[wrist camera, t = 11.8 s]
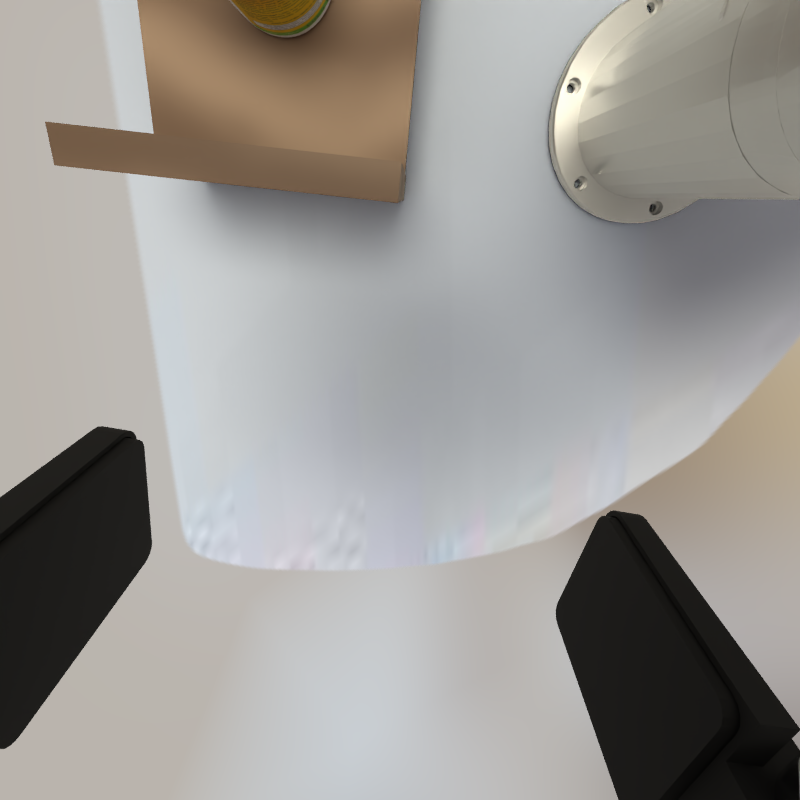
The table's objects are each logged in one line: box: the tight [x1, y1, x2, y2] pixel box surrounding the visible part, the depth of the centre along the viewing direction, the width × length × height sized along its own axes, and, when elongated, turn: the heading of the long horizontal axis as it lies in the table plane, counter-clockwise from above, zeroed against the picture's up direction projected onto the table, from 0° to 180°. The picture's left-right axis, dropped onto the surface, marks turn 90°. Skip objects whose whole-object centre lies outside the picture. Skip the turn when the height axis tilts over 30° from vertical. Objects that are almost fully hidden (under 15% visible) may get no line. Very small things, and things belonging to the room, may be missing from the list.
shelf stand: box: [45, 0, 421, 203], centre depth 21 cm, size 16×14×14 cm
